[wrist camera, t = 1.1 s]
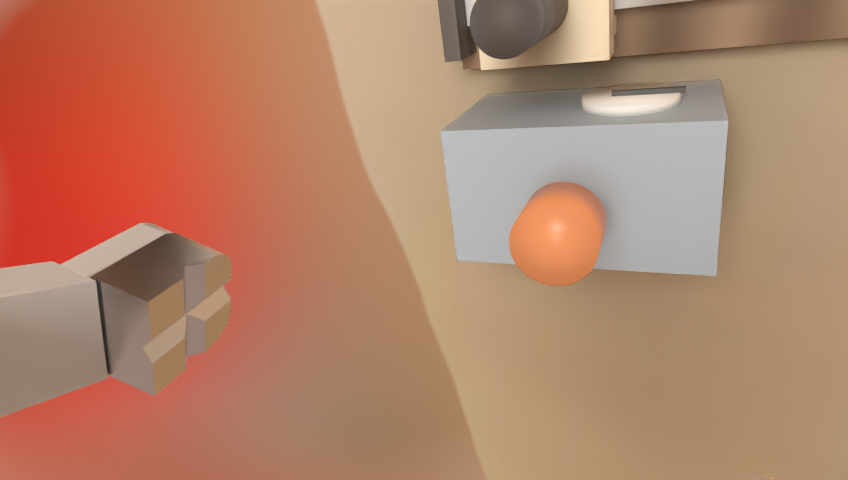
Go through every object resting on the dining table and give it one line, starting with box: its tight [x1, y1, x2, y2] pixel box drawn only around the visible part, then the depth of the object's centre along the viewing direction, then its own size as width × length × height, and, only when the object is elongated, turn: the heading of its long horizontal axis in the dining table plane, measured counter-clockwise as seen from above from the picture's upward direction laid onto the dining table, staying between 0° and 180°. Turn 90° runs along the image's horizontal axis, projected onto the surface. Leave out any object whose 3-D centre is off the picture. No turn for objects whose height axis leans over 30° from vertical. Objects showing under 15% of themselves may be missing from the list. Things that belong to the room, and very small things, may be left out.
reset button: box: [509, 182, 607, 286], centre depth 27 cm, size 4×4×3 cm
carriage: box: [470, 0, 617, 70], centre depth 29 cm, size 7×6×11 cm
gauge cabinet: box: [440, 80, 728, 276], centre depth 34 cm, size 14×9×9 cm, turn 99°
